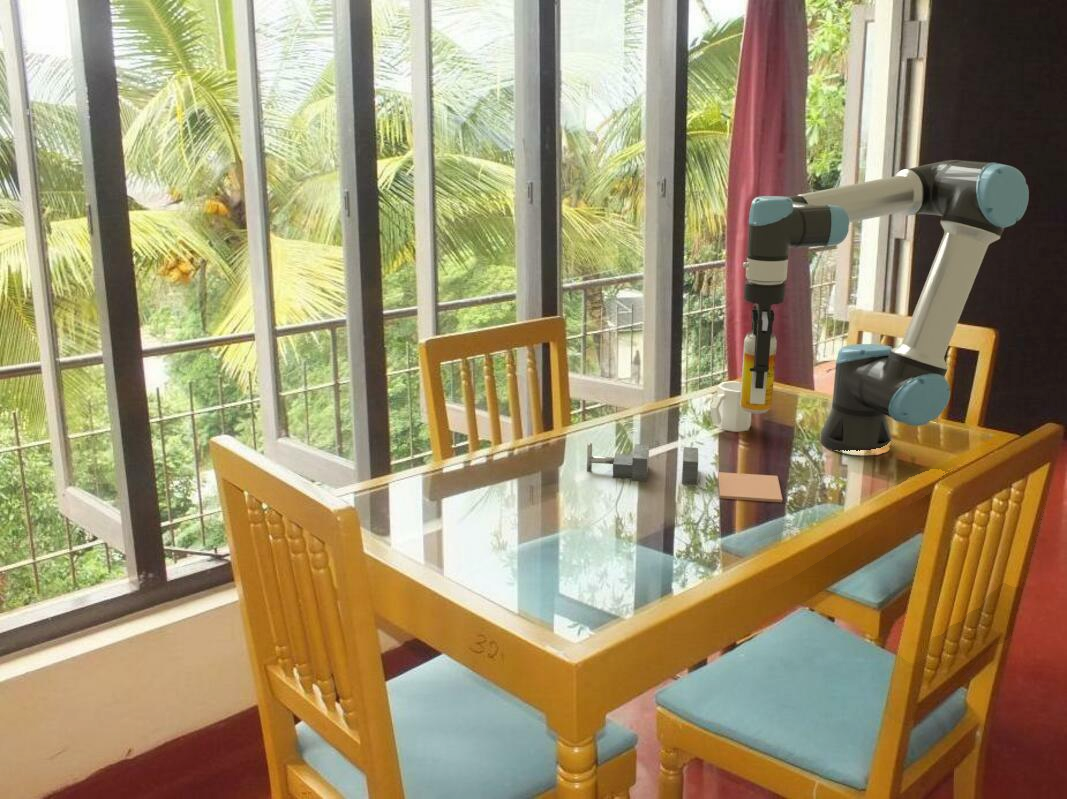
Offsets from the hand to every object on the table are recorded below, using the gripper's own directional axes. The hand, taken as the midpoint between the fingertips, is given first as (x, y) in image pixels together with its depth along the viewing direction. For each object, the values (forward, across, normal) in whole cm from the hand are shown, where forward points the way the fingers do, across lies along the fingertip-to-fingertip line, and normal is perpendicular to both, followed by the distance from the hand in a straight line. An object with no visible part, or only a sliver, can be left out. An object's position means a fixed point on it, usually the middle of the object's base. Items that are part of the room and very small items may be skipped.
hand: (756, 397), depth 184 cm
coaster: (+19, 0, 0) cm, 19 cm away
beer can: (+3, 0, 0) cm, 3 cm away
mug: (+19, -36, -3) cm, 41 cm away
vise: (+19, -4, -22) cm, 29 cm away
